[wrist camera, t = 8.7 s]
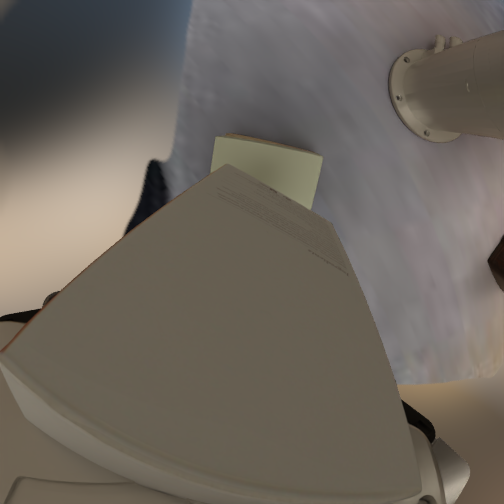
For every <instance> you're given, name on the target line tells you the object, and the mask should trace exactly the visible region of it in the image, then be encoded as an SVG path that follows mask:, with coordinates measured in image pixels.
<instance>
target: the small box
mask: <svg viewBox="0 0 504 504" xmlns="http://www.w3.org/2000/svg"><path fill="white" fill-rule="evenodd" d="M0 368H1V371H2V373H3V375H4V377H5V379H6V382H7V384H8V386H9V388H10V390H11V392H12V394H13V396H14V398H15V400H16V402H17V404H18V406H19V407H20V409H21V411H22V413H23V415H24V417H25V418H26V419H27V420H28V421H30V422H31V423H32V424H33V425H35V426H36V427H37V428H39V429H40V430H42V431H43V432H44V433H46V434H47V435H49V436H50V437H52V438H53V439H55V440H56V441H58V442H59V443H61V444H62V445H64V446H65V447H67V448H69V449H70V450H72V451H74V452H75V453H77V454H79V455H81V456H82V457H84V458H86V459H88V460H90V461H92V462H94V463H96V464H97V465H99V466H101V467H103V468H106V469H108V470H110V471H112V472H114V473H116V474H118V475H121V476H123V477H125V478H128V479H130V480H132V481H135V483H136V484H139V485H142V486H144V487H147V488H150V489H153V490H156V491H159V492H162V493H165V494H168V495H172V496H175V497H179V498H183V499H186V498H188V499H192V500H196V501H200V502H205V503H209V504H390V503H394V502H397V501H401V500H404V499H408V498H411V497H413V496H415V495H417V494H419V493H420V492H421V491H422V484H421V478H420V474H419V469H418V464H417V459H416V454H415V450H414V446H413V442H412V438H411V434H410V430H409V426H408V422H407V419H406V415H405V412H404V408H403V405H402V401H401V398H400V395H399V391H398V388H397V385H396V382H395V379H394V375H393V372H392V369H391V366H390V363H389V360H388V358H387V355H386V352H385V349H384V346H383V343H382V341H381V338H380V335H379V332H378V330H377V327H376V324H375V322H374V319H373V316H372V314H371V311H370V309H369V306H368V304H367V301H366V298H365V296H364V293H363V291H362V289H361V286H360V284H359V282H358V279H357V277H356V274H355V272H354V270H353V267H352V265H351V263H350V261H349V258H348V256H347V254H346V252H345V250H344V248H343V246H342V243H341V241H340V239H339V237H338V235H337V233H336V231H335V229H334V227H333V225H332V223H331V222H329V221H327V220H326V219H324V218H322V217H321V216H319V215H318V214H316V213H314V212H313V211H311V210H309V209H308V208H306V207H304V206H303V205H301V204H299V203H297V202H296V201H294V200H292V199H291V198H289V197H287V196H285V195H284V194H282V193H280V192H278V191H277V190H275V189H273V188H271V187H270V186H268V185H266V184H264V183H263V182H261V181H259V180H257V179H256V178H254V177H252V176H250V175H248V174H247V173H245V172H243V171H241V170H239V169H237V168H236V167H234V166H232V165H230V164H225V165H223V166H222V167H220V168H219V169H217V170H216V171H214V172H212V173H211V174H210V175H208V176H207V177H205V178H204V179H202V180H201V181H199V182H198V183H196V184H195V185H193V186H192V187H190V188H189V189H187V190H186V191H184V192H183V193H182V194H180V195H179V196H177V197H176V198H174V199H173V200H171V201H170V202H168V203H167V204H166V205H165V206H163V207H162V208H160V209H159V210H158V211H156V212H155V213H154V214H152V215H151V216H150V217H148V218H147V219H146V220H144V221H143V222H142V223H140V224H139V225H138V226H136V227H135V228H134V229H133V230H131V231H130V232H129V233H127V234H126V235H125V236H124V237H122V238H121V239H120V240H119V241H118V242H116V243H115V244H114V245H113V246H111V247H110V248H109V249H108V250H107V251H106V252H104V253H103V254H102V255H101V256H100V257H98V258H97V259H96V260H95V261H94V262H93V263H91V264H90V265H89V266H88V267H87V268H85V269H84V270H83V271H82V272H81V273H80V274H79V275H78V276H77V277H75V278H74V279H73V280H72V281H71V282H70V283H69V284H67V285H66V286H65V287H64V288H63V289H62V290H61V291H60V292H59V293H58V294H57V295H56V296H55V297H53V298H52V299H51V300H50V301H49V302H48V303H47V304H46V305H45V306H44V307H43V308H42V309H41V310H40V311H39V312H38V313H36V314H35V315H34V316H33V317H32V318H31V319H30V320H29V321H28V322H27V323H26V324H25V325H24V326H23V327H22V328H21V329H20V331H19V332H18V333H17V334H16V335H15V336H14V338H13V339H12V340H11V341H10V342H9V343H8V344H7V345H6V346H5V347H4V348H3V349H2V350H1V351H0Z"/></svg>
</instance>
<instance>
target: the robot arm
mask: <svg viewBox="0 0 504 504" xmlns="http://www.w3.org/2000/svg"><path fill="white" fill-rule="evenodd" d="M445 41H446V39H445V38H444V37H443V36H441V35H436V36H435V48H433V49H431V50H425V49H415V50H411V51H408V52H406V53H404V54H403V55H401V56H400V57H399V58H398V59H397V60H396V61H395V63H394V64H393V66H392V69H391V71H390V76H389V91H390V97H391V100H392V103H393V106H394V108H395V110H396V112H397V114H398V116H399V117H400V119H401V120H402V122H403V123H404V124H405V125H406V126H407V127H408V128H409V130H411V131H412V132H413V133H414V134H416V135H417V136H419V137H421V138H422V139H424V140H427V141H431V142H436V143H446V142H450V141H453V140H454V139H456V138H458V137H459V136H460V135H461V134H462V133H464V134H471V135H478V136H485V137H491V138H497V139H502V140H504V30H502V31H499V32H496V33H492V34H489V35H486V36H483V37H480V38H477V39H474V40H471V41H468V42H465V43H463V41H462V40H461V39H459V38H457V37H450V42H449V48H448V49H446V50H444V47H445ZM404 60H405V61H404ZM396 96H397V97H398V100H397V99H396ZM424 132H425V134H424ZM59 292H60V291H57V292H54V293H52V294H50V295H49V296H47V297H46V299H45V301H44V303H43V306H42V308H43V307H44V306H45V305H46V304H47V303H48V302H49V301H50V300H51V299H52V298H53V297H55V296H56V295H57V294H58V293H59ZM40 310H41V309H36V310H30V311H25V312H19V313H14V314H8V315H4V316H2V317H0V351H1V350H2V349H3V348H4V347H5V346H6V345H7V344H8V343H9V342H10V341H11V340H12V339H13V338H14V336H15V335H16V334H17V333H18V332H19V331H20V329H21V328H22V327H23V326H24V325H25V324H26V323H27V322H28V321H29V320H30V319H31V318H32V317H33V316H34V315H35V314H36V313H38V312H39V311H40ZM395 382H396V380H395ZM396 385H397V384H396ZM401 401H402V405H403V408H404V412H405V415H406V419H407V422H408V426H409V430H410V434H411V438H412V442H413V446H414V450H415V454H416V459H417V464H418V469H419V474H420V478H421V484H422V491H421V492H420V493H419V494H417V495H415V496H413V497H411V498H408V499H404V500H401V501H397V502H394V503H390V504H454V503H455V501H456V499H457V498H458V496H459V494H460V493H461V491H462V489H463V488H464V486H465V484H466V482H467V480H468V478H469V475H470V468H469V465H468V464H467V462H466V461H465V460H464V459H463V458H461V457H460V456H459V455H458V454H457V453H456V452H455V451H454V450H453V449H451V447H449V446H448V445H447V444H446V443H445V442H444V441H443V440H442V439H441V438H438V439H435V429H434V427H433V425H432V423H431V422H430V421H429V420H428V419H426V418H425V417H424V416H423V415H421V414H420V413H419V412H417V411H416V410H414V409H413V408H412V407H411V406H409V405H408V404H407V403H405V402H404V401H403V400H401ZM0 504H209V503H205V502H200V501H196V500H192V499H188V498H186V499H183V498H179V497H175V496H172V495H168V494H165V493H162V492H159V491H156V490H153V489H150V488H147V487H144V486H142V485H139V484H136V483H135V481H132V480H130V479H128V478H125V477H123V476H121V475H118V474H116V473H114V472H112V471H110V470H108V469H106V468H103V467H101V466H99V465H97V464H96V463H94V462H92V461H90V460H88V459H86V458H84V457H82V456H81V455H79V454H77V453H75V452H74V451H72V450H70V449H69V448H67V447H65V446H64V445H62V444H61V443H59V442H58V441H56V440H55V439H53V438H52V437H50V436H49V435H47V434H46V433H44V432H43V431H42V430H40V429H39V428H37V427H36V426H35V425H33V424H32V423H31V422H30V421H28V420H27V419H26V418H25V417H24V415H23V413H22V411H21V409H20V407H19V406H18V404H17V402H16V400H15V398H14V396H13V394H12V392H11V390H10V388H9V386H8V384H7V382H6V379H5V377H4V375H3V373H2V371H1V368H0Z"/></svg>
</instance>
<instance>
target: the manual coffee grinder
mask: <svg viewBox="0 0 504 504" xmlns="http://www.w3.org/2000/svg"><path fill="white" fill-rule="evenodd" d="M488 263H489V266H490V269H491V271H492V273H493V275H494V277H495V280H496V282H497V284H498V285H499V287H500V288H501V289H502V291H503V292H504V238H503V239H502V241H501V242H500V244H499V245H498V247H497V248H496V249H495V251H494V252H493V254H492V255H491V257H490V259H489V260H488Z"/></svg>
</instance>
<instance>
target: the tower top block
mask: <svg viewBox="0 0 504 504" xmlns="http://www.w3.org/2000/svg"><path fill="white" fill-rule="evenodd" d="M322 161H323V156H321V155H319V154H317V153H313V152H309V151H304V150H300V149H296V148H291V147H286V146H281V145H276V144H271V143H266V142H261V141H255V140H249V139H243V138H237V137H230V136H216V138H215V144H214V151H213V157H212V164H211V171H210V174H211V173H212V172H214V171H216V170H217V169H219V168H220V167H222V166H223V165H225V164H230V165H232V166H234V167H236V168H237V169H239V170H241V171H243V172H245V173H247V174H248V175H250V176H252V177H254V178H256V179H257V180H259V181H261V182H263V183H264V184H266V185H268V186H270V187H271V188H273V189H275V190H277V191H278V192H280V193H282V194H284V195H285V196H287V197H289V198H291V199H292V200H294V201H296V202H297V203H299V204H301V205H303V206H304V207H306V208H308V209H309V210H311V207H312V203H313V199H314V195H315V191H316V187H317V183H318V178H319V174H320V170H321V165H322Z"/></svg>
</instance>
